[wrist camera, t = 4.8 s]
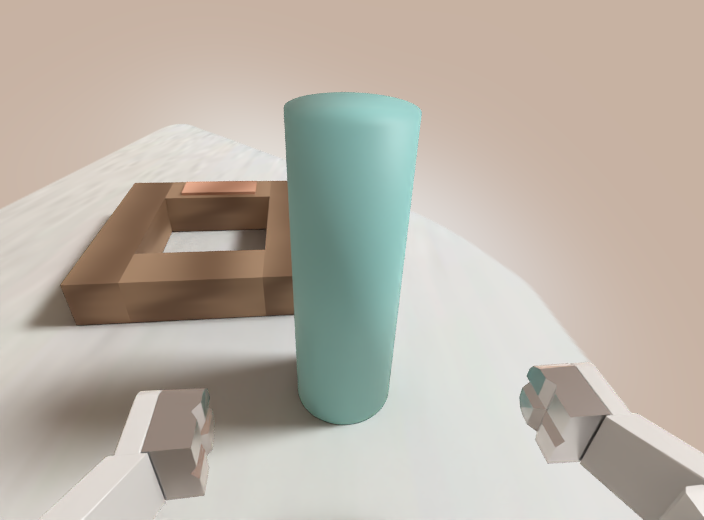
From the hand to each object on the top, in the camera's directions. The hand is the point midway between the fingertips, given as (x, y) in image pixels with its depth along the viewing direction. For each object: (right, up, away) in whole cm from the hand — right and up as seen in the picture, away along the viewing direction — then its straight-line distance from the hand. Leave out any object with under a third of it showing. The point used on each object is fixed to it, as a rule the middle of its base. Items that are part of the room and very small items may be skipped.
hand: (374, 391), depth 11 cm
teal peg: (-1, -2, +8) cm, 9 cm away
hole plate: (-9, +4, +17) cm, 19 cm away
